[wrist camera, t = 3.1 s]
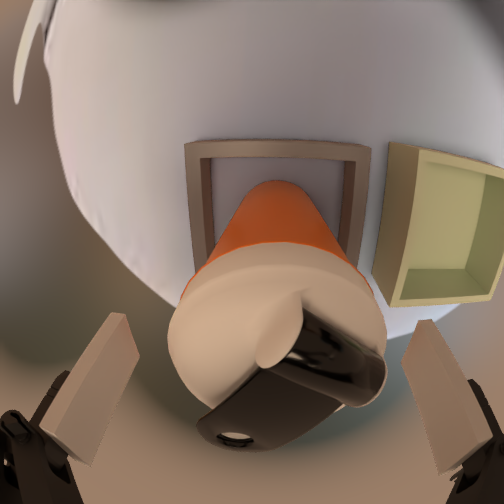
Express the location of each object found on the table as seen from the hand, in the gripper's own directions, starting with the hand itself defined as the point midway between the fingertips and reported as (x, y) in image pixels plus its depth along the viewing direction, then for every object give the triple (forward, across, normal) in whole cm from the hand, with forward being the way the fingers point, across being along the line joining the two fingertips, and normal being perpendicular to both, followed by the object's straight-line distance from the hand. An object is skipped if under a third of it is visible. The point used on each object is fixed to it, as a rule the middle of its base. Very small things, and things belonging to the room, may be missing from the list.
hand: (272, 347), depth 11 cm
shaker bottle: (+16, 0, 0) cm, 16 cm away
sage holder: (+16, +17, +1) cm, 24 cm away
